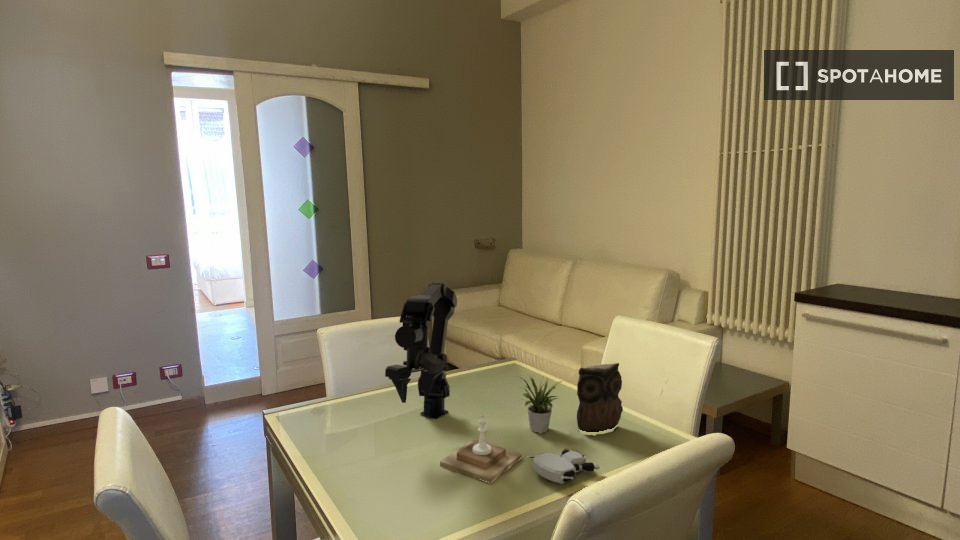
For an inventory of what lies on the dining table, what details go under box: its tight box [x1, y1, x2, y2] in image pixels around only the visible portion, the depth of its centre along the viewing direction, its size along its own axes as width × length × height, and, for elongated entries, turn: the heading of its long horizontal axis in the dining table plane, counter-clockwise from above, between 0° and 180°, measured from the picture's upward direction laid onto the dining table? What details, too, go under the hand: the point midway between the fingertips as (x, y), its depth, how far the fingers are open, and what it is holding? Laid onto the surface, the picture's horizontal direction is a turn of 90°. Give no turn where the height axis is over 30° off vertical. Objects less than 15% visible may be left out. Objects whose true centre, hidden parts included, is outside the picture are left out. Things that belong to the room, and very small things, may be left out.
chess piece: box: [472, 412, 492, 455], centre depth 132 cm, size 5×5×10 cm
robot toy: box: [525, 448, 601, 484], centre depth 128 cm, size 12×4×15 cm
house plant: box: [516, 375, 563, 434], centre depth 152 cm, size 14×14×16 cm
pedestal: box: [439, 438, 523, 484], centre depth 133 cm, size 15×15×3 cm
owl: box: [576, 362, 624, 432], centre depth 151 cm, size 13×13×20 cm
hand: (415, 399), depth 144 cm, fingers open, 9 cm apart
